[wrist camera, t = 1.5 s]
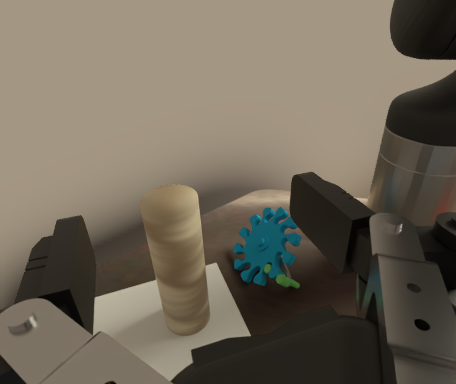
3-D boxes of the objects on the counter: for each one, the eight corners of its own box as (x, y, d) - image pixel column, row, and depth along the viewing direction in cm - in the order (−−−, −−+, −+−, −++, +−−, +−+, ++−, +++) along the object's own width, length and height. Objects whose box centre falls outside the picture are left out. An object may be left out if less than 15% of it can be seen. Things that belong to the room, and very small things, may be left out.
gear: (223, 235, 44) (277, 189, 40) (251, 250, 47) (303, 209, 44) (241, 307, 35) (310, 257, 32) (274, 319, 39) (340, 275, 35)
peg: (203, 292, 34) (190, 180, 27) (216, 326, 31) (205, 207, 23) (161, 305, 33) (136, 191, 26) (170, 342, 30) (143, 222, 22)
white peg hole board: (217, 277, 39) (216, 261, 38) (257, 366, 30) (258, 349, 28) (-24, 350, 32) (-37, 333, 31) (-73, 498, 23) (-95, 484, 21)
